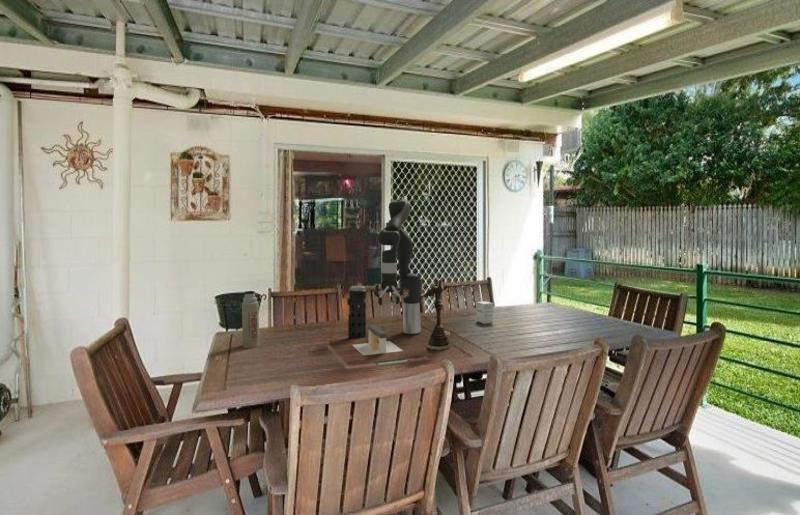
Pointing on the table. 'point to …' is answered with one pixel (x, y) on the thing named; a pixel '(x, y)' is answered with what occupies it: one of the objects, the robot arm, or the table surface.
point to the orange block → (374, 341)
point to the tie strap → (377, 331)
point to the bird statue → (438, 335)
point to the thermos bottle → (250, 320)
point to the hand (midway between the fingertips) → (388, 304)
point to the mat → (391, 362)
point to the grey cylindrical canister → (484, 312)
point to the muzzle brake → (357, 312)
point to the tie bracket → (383, 348)
